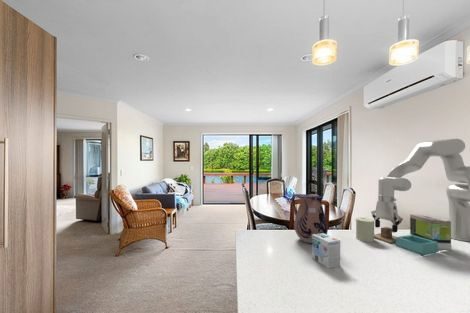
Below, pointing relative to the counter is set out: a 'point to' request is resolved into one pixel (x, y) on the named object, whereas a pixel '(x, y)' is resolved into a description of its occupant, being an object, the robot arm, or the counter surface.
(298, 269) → the counter surface
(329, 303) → the counter surface
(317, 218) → the ceramic pitcher
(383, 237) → the lid
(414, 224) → the tea box
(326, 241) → the light bulb box
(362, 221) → the can
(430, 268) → the counter surface
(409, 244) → the dish
